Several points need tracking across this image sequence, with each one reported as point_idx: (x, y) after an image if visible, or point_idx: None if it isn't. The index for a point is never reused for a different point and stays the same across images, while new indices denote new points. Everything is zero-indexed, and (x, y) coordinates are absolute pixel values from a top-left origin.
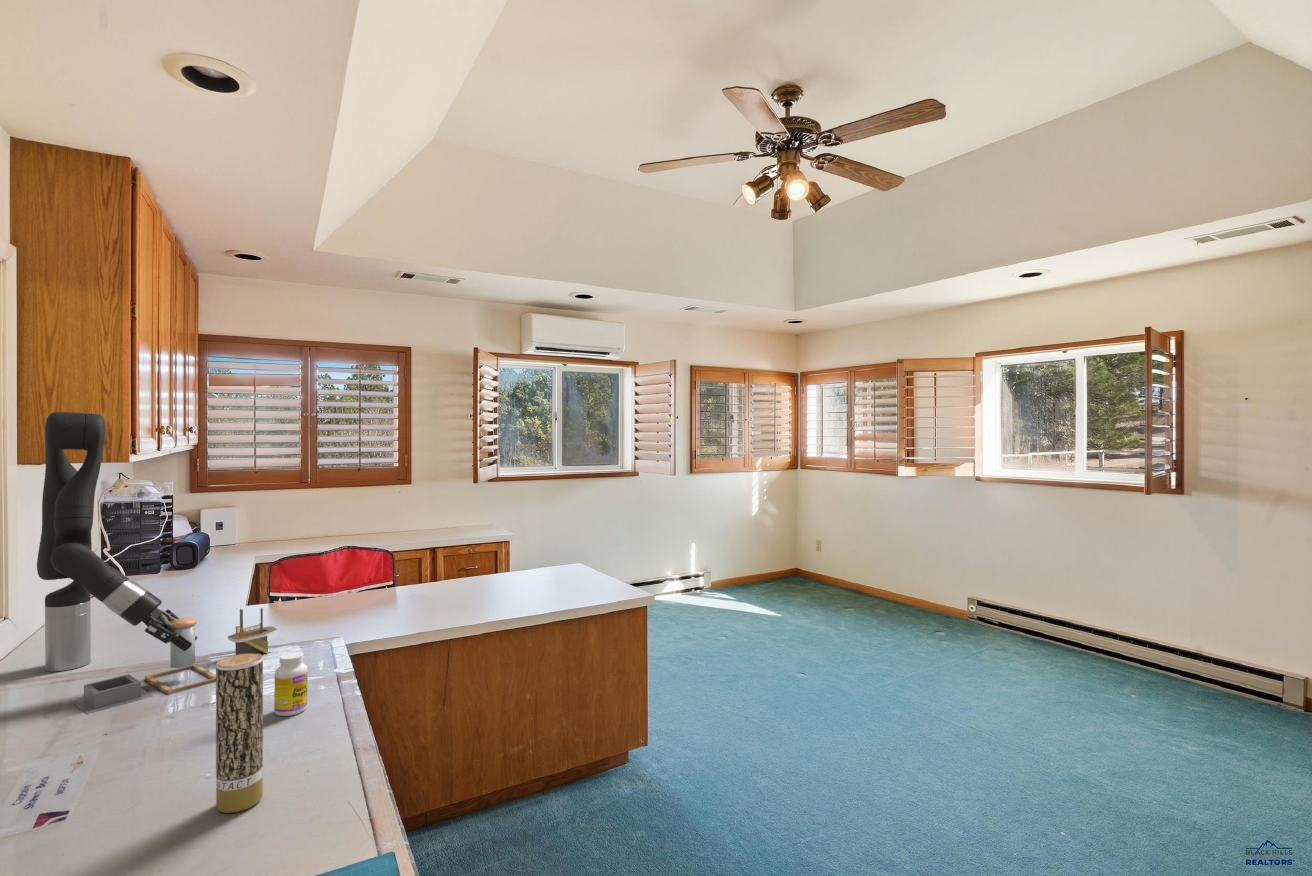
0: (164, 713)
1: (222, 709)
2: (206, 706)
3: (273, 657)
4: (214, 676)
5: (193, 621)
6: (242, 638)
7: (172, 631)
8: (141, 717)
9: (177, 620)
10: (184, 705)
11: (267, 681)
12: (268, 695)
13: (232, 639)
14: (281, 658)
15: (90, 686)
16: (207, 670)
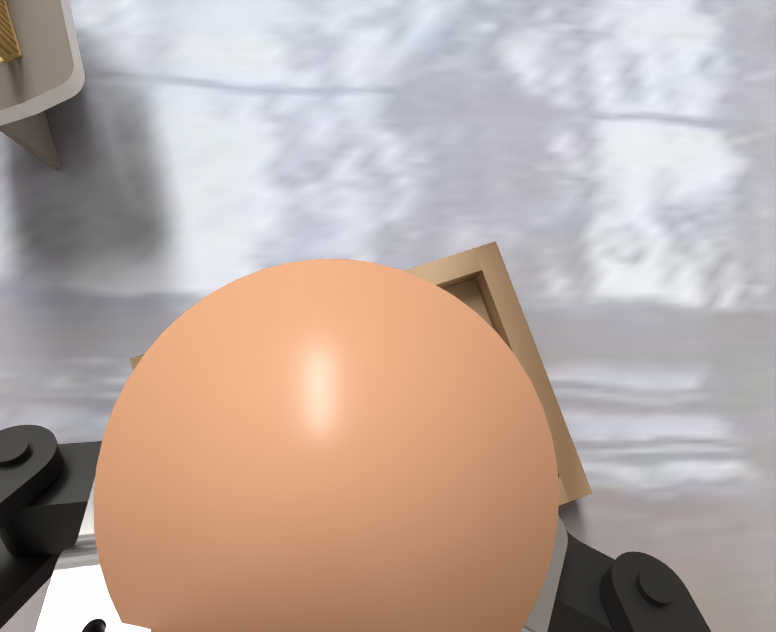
0: (744, 497)
1: None
2: (745, 323)
3: (164, 10)
4: (458, 269)
5: (464, 308)
6: (50, 49)
7: (551, 611)
8: (746, 597)
9: (215, 581)
10: (678, 413)
11: (539, 70)
12: (737, 85)
13: (12, 110)
14: None
15: None
16: None
